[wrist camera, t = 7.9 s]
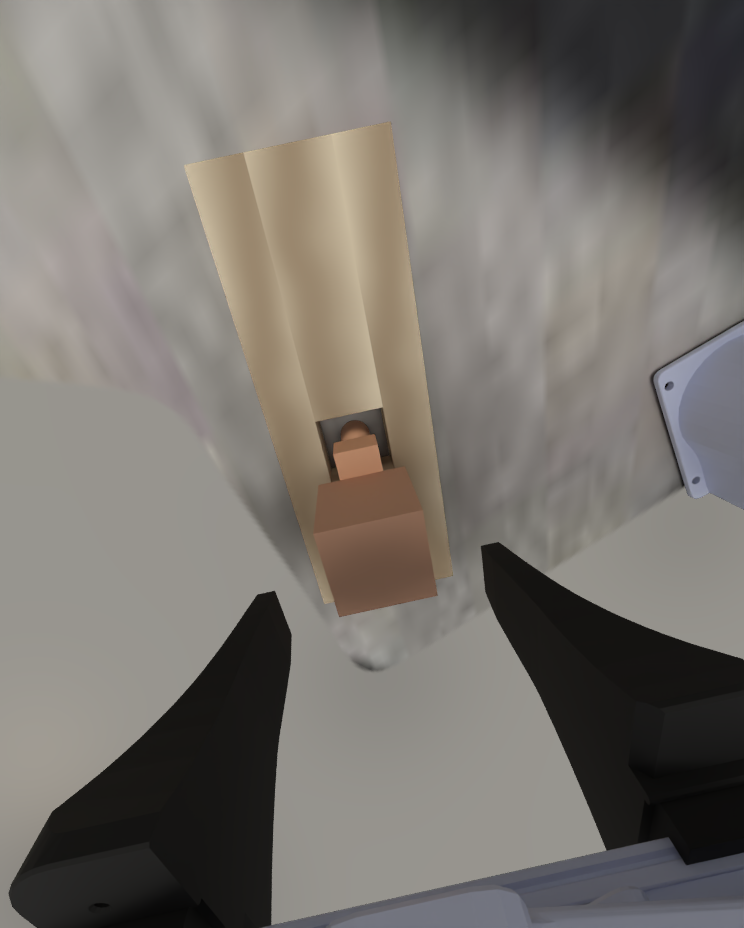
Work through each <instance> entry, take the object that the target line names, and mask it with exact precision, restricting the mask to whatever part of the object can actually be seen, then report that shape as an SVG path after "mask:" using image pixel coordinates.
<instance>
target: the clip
mask: <svg viewBox="0 0 744 928" xmlns="http://www.w3.org/2000/svg"><path fill="white" fill-rule="evenodd" d="M333 455H334V459H335V463H336V467H337V471H338V474H339V478H340V480H339V481H335V482H330V483H326V484H321V485H318V494H317V504H316V513H315V522H314V531H313V535H314V539H315V542H316V545H317V548H318V551H319V554H320V558H321V561H322V564H323V567H324V570H325V573H326V577H327V580H328V583H329V586H330V589H331V592H332V596H333V599H334V602H335V605H336V608H337V611H338V615H339V617H342V616H346V615H351V614H356V613H360V612H365V611H369V610H374V609H378V608H383V607H388V606H392V605H397V604H401V603H406V602H410V601H415V600H419V599H424V598H429V597H433V596H438V595H437V589H436V583H435V578H434V572H433V566H432V560H431V554H430V548H429V543H428V537H427V531H426V525H425V519H424V514H423V509H422V507H421V504H420V502H419V499H418V497H417V495H416V492H415V490H414V487H413V485H412V482H411V480H410V478H409V475H408V473H407V470H406V468H405V466H403V467H398V468H394V469H389V470H385V471H383V468H382V463H381V458H380V453H379V449H378V444H377V441H376V437H375V434H372V435H370V432H369V429H368V427H367V426H366V425H365V424H364V423H363V422H361V421H356V420H354V421H350V422H348V423H346V424H345V425H344V426H343V428H342V430H341V441H340V442H336V443H334V446H333Z"/></svg>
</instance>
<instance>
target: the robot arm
mask: <svg viewBox="0 0 744 928" xmlns="http://www.w3.org/2000/svg"><path fill="white" fill-rule="evenodd" d="M653 380H654V385H655V388H656V392H657V395H658V398H659V402H660V405H661V408H662V412H663V415H664V418H665V422H666V425H667V428H668V431H669V435H670V438H671V441H672V445H673V448H674V451H675V455H676V458H677V461H678V465H679V468H680V471H681V475H682V478H683V481H684V484H685V488H686V491H687V494H688V496H690V497H692V498H694V499H698V498H701V497H703V496H705V495H707V494H708V493H711V494H714V495H715V496H717V497H719V498H721V499H723V500H725V501H727V502H729V503H731V504H733V505H735V506H737V507H740V508H741V509H744V321H742V322H741V323H739V324H737V325H736V326H734V327H732V328H730V329H729V330H727V331H725V332H724V333H722V334H720V335H718V336H717V337H715V338H713V339H712V340H710V341H708V342H706V343H705V344H703V345H701V346H700V347H698V348H696V349H695V350H693V351H691V352H689V353H688V354H686V355H684V356H683V357H681V358H679V359H677V360H676V361H674V362H672V363H671V364H669V365H667V366H665V367H664V368H662V369H660V370H659V371H658V372H657V373H656V374H655V376H654V379H653ZM666 383H668V386H667V387H666V388H665V385H666ZM481 551H482V561H483V572H484V582H485V592H486V594H487V597H488V599H489V602H490V604H491V607H492V609H493V611H494V613H495V616H496V618H497V620H498V622H499V624H500V625H501V627H502V629H503V631H504V633H505V634H506V636H507V638H508V639H509V641H510V643H511V645H512V647H513V648H514V650H515V652H516V654H517V655H518V657H519V659H520V660H521V662H522V664H523V665H524V667H525V669H526V671H527V673H528V674H529V676H530V678H531V680H532V681H533V683H534V685H535V687H536V689H537V691H538V693H539V695H540V697H541V699H542V701H543V703H544V706H545V707H546V710H547V712H548V714H549V717H550V719H551V721H552V723H553V725H554V727H555V730H556V732H557V734H558V736H559V739H560V741H561V743H562V745H563V748H564V750H565V752H566V754H567V757H568V759H569V761H570V764H571V766H572V768H573V771H574V773H575V775H576V778H577V780H578V782H579V785H580V787H581V789H582V792H583V794H584V797H585V799H586V801H587V804H588V806H589V808H590V811H591V813H592V816H593V818H594V821H595V823H596V826H597V828H598V830H599V833H600V835H601V838H602V840H603V842H604V845H605V848H606V850H607V851H604V852H599V853H594V854H590V855H586V856H581V857H577V858H572V859H567V860H563V861H558V862H555V863H549V864H545V865H541V866H536V867H532V868H527V869H522V870H518V871H514V872H509V873H505V874H500V875H496V876H491V877H487V878H482V879H478V880H473V881H469V882H464V883H460V884H455V885H451V886H446V887H442V888H437V889H433V890H429V891H424V892H419V893H415V894H411V895H406V896H401V897H397V898H392V899H388V900H383V901H379V902H375V903H370V904H365V905H361V906H356V907H352V908H348V909H343V910H338V911H334V912H330V913H325V914H321V915H316V916H311V917H307V918H302V919H298V920H294V921H289V922H284V923H280V924H275V925H271V898H272V891H271V890H272V848H273V820H274V800H275V799H274V798H275V782H276V767H277V752H278V743H279V735H280V729H281V722H282V716H283V710H284V704H285V698H286V691H287V685H288V678H289V671H290V665H291V632H290V629H289V627H288V624H287V622H286V619H285V616H284V613H283V611H282V608H281V606H280V603H279V600H278V598H277V595H276V593H275V591H272V592H267V593H263V594H258V595H257V596H256V597H255V599H254V601H253V602H252V603H251V605H250V606H249V608H248V609H247V611H246V612H245V613H244V615H243V616H242V618H241V619H240V621H239V622H238V624H237V626H236V627H235V628H234V630H233V631H232V633H231V634H230V635H229V637H228V638H227V640H226V641H225V642H224V644H223V645H222V647H221V648H220V649H219V651H218V652H217V653H216V655H215V656H214V657H213V659H212V660H211V661H210V662H209V664H208V665H207V666H206V668H205V669H204V670H203V671H202V673H201V674H200V675H199V676H198V677H197V679H196V680H195V681H194V682H193V683H192V685H191V686H190V687H189V688H188V689H187V690H186V691H185V693H184V694H183V695H182V696H181V697H180V698H179V699H178V700H177V702H176V703H175V704H174V705H173V706H172V707H171V708H170V709H169V710H168V711H167V712H166V713H165V714H164V715H163V716H162V717H161V718H160V719H159V720H158V721H157V722H156V723H155V724H154V725H153V726H152V727H151V728H150V729H149V730H148V731H147V732H146V733H145V734H144V735H143V736H142V737H141V738H140V739H139V740H137V742H135V743H134V744H133V745H132V746H131V747H130V748H129V749H128V750H127V751H126V752H124V753H123V754H122V755H121V756H120V757H119V758H118V759H116V760H115V761H114V762H113V763H112V764H111V765H110V766H109V767H107V768H106V769H105V770H104V771H103V772H101V773H100V774H99V775H98V776H97V777H95V778H94V779H93V780H92V781H90V782H89V783H88V784H87V785H85V786H84V787H83V788H82V789H80V790H79V791H78V792H77V793H75V794H74V795H73V796H72V797H70V798H69V799H68V800H67V801H65V802H64V803H63V804H62V805H60V806H59V807H58V808H56V809H55V810H54V811H53V812H52V813H51V815H50V816H49V818H48V820H47V822H46V824H45V825H44V827H43V829H42V831H41V832H40V834H39V836H38V838H37V840H36V841H35V843H34V845H33V847H32V848H31V850H30V852H29V854H28V855H27V857H26V859H25V861H24V863H23V864H22V866H21V868H20V870H19V872H18V873H17V875H16V877H15V879H14V880H13V882H12V884H11V887H10V890H9V897H10V900H11V904H12V907H13V908H14V909H15V910H16V911H17V912H18V913H19V914H20V915H21V916H22V917H24V918H25V919H26V920H28V921H29V922H30V923H31V924H33V925H34V926H35V927H37V928H744V660H743V659H741V658H738V657H734V656H731V655H727V654H724V653H721V652H717V651H713V650H710V649H707V648H704V647H700V646H697V645H694V644H691V643H688V642H685V641H682V640H679V639H676V638H673V637H670V636H667V635H665V634H662V633H659V632H657V631H654V630H652V629H649V628H646V627H644V626H642V625H639V624H637V623H635V622H632V621H630V620H627V619H625V618H623V617H620V616H618V615H616V614H614V613H611V612H610V611H607V610H605V609H603V608H601V607H599V606H597V605H595V604H593V603H592V602H590V601H588V600H586V599H584V598H582V597H580V596H578V595H576V594H574V593H573V592H571V591H570V590H568V589H566V588H564V587H563V586H561V585H559V584H558V583H556V582H555V581H553V580H552V579H550V578H549V577H547V576H546V575H544V574H543V573H541V572H540V571H538V570H537V569H535V568H534V567H532V566H531V565H529V564H528V563H527V562H525V561H524V560H522V559H521V558H520V557H518V556H517V555H516V554H514V553H513V552H511V551H510V550H509V549H507V548H506V547H505V546H503V545H502V544H500V543H499V542H497V543H492V544H488V545H483V546H481Z"/></svg>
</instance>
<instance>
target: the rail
mask: <svg viewBox="0 0 744 928" xmlns="http://www.w3.org/2000/svg"><path fill="white" fill-rule="evenodd" d="M184 168H185V171H186V174H187V177H188V180H189V183H190V186H191V190H192V193H193V196H194V199H195V202H196V205H197V208H198V211H199V214H200V218H201V221H202V224H203V227H204V230H205V233H206V236H207V239H208V242H209V246H210V249H211V252H212V255H213V258H214V261H215V264H216V267H217V271H218V274H219V277H220V280H221V283H222V286H223V289H224V292H225V295H226V299H227V302H228V305H229V308H230V311H231V314H232V317H233V320H234V324H235V327H236V330H237V333H238V336H239V339H240V342H241V345H242V348H243V352H244V355H245V358H246V361H247V364H248V367H249V370H250V373H251V377H252V380H253V383H254V386H255V389H256V392H257V395H258V398H259V401H260V405H261V408H262V411H263V414H264V417H265V420H266V423H267V426H268V430H269V433H270V436H271V439H272V442H273V445H274V448H275V451H276V454H277V458H278V461H279V464H280V467H281V470H282V473H283V476H284V479H285V483H286V486H287V489H288V492H289V495H290V498H291V501H292V504H293V507H294V511H295V514H296V517H297V520H298V523H299V526H300V529H301V532H302V536H303V539H304V542H305V545H306V548H307V551H308V554H309V557H310V560H311V564H312V567H313V570H314V573H315V576H316V579H317V582H318V585H319V589H320V592H321V595H322V598H323V601H324V604H327V603H331V602H334V599H333V596H332V592H331V589H330V586H329V583H328V580H327V577H326V573H325V570H324V567H323V564H322V561H321V558H320V554H319V551H318V548H317V545H316V542H315V539H314V535H313V531H314V522H315V513H316V504H317V494H318V485H321V484H326V483H330V482H335V481H339V480H340V478H339V474H338V471H337V467H334V468H332V467H331V463H330V459H329V456H328V452H327V448H326V444H325V440H324V436H323V433H322V429H321V425H320V421H322V420H326V419H331V418H336V417H340V416H345V415H349V414H354V413H359V412H363V411H368V410H373V409H377V408H381V413H382V419H383V424H384V429H385V434H386V439H387V445H388V450H389V456H385V457H380V458H381V463H382V468H383V471H385V470H389V469H394V468H398V467H403V466H405V468H406V470H407V473H408V475H409V478H410V480H411V482H412V485H413V487H414V490H415V492H416V495H417V497H418V499H419V502H420V504H421V507H422V509H423V514H424V519H425V525H426V531H427V537H428V543H429V548H430V554H431V560H432V566H433V572H434V578H435V580H436V579H441V578H446V577H450V576H453V571H452V564H451V556H450V549H449V542H448V535H447V527H446V520H445V513H444V506H443V498H442V491H441V484H440V477H439V469H438V462H437V455H436V447H435V440H434V433H433V426H432V418H431V411H430V404H429V397H428V389H427V382H426V375H425V368H424V360H423V353H422V346H421V339H420V331H419V324H418V317H417V309H416V302H415V295H414V288H413V280H412V273H411V266H410V259H409V251H408V244H407V237H406V230H405V222H404V215H403V208H402V201H401V193H400V186H399V179H398V171H397V164H396V157H395V150H394V142H393V135H392V128H391V122H386V123H381V124H376V125H372V126H367V127H362V128H358V129H353V130H348V131H343V132H339V133H334V134H329V135H324V136H320V137H315V138H310V139H305V140H301V141H296V142H291V143H286V144H282V145H277V146H272V147H267V148H263V149H258V150H253V151H249V152H244V153H239V154H234V155H230V156H225V157H220V158H215V159H211V160H206V161H201V162H196V163H192V164H187V165H184Z"/></svg>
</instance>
